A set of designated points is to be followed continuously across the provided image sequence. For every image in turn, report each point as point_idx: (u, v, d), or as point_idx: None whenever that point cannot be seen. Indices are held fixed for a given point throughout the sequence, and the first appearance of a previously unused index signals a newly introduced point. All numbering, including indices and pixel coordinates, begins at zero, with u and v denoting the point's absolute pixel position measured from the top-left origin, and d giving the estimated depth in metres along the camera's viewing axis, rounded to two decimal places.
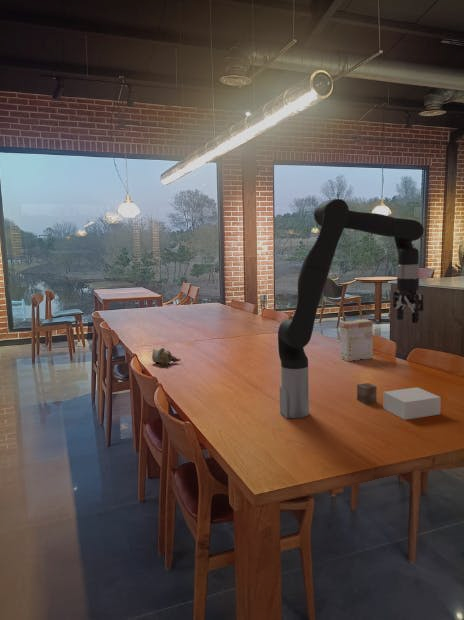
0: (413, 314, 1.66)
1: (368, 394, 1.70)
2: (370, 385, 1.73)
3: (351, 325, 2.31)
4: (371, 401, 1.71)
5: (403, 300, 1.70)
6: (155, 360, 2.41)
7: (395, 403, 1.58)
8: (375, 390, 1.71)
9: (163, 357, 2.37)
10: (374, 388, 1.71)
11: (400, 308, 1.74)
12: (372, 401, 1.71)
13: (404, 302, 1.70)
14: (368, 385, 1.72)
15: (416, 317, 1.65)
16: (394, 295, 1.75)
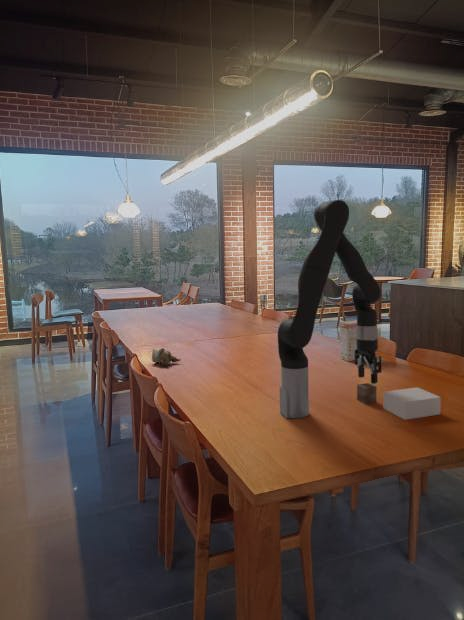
0: (372, 375, 1.67)
1: (368, 394, 1.70)
2: (370, 385, 1.73)
3: (351, 325, 2.31)
4: (371, 401, 1.71)
5: (363, 359, 1.72)
6: (155, 360, 2.40)
7: (395, 403, 1.58)
8: (375, 390, 1.71)
9: (163, 357, 2.36)
10: (374, 388, 1.71)
11: (361, 366, 1.76)
12: (372, 401, 1.71)
13: (364, 362, 1.71)
14: (368, 385, 1.72)
15: (375, 378, 1.67)
16: (355, 353, 1.77)
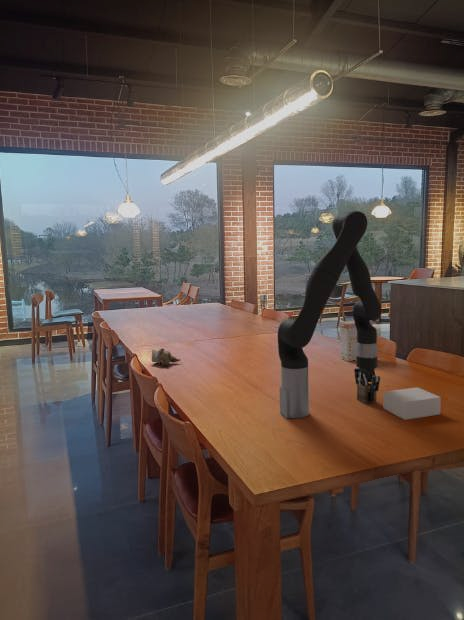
0: (369, 393, 1.70)
1: None
2: (370, 385, 1.73)
3: (351, 325, 2.31)
4: None
5: (363, 376, 1.72)
6: (155, 360, 2.40)
7: (395, 403, 1.58)
8: None
9: (163, 357, 2.36)
10: None
11: None
12: None
13: (363, 379, 1.72)
14: None
15: (372, 396, 1.69)
16: (355, 372, 1.77)
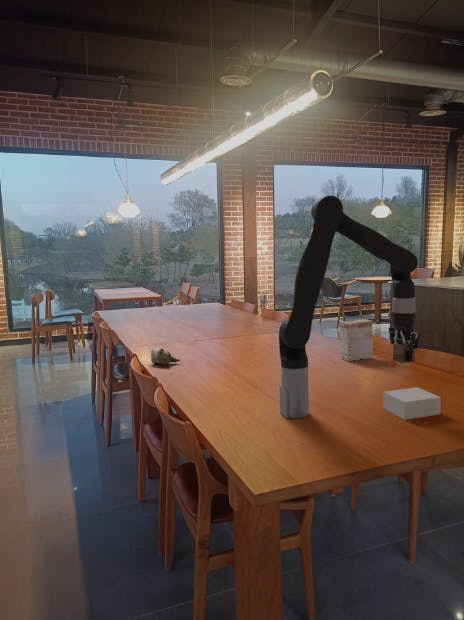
0: (407, 352, 1.58)
1: None
2: None
3: (351, 325, 2.31)
4: None
5: (400, 334, 1.61)
6: (154, 361, 2.39)
7: (395, 403, 1.58)
8: None
9: (163, 358, 2.35)
10: None
11: None
12: None
13: (400, 337, 1.61)
14: None
15: (410, 355, 1.58)
16: (390, 331, 1.66)
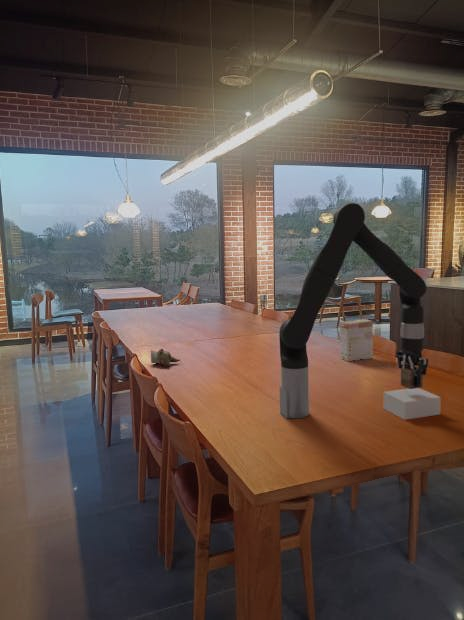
0: (415, 378, 1.56)
1: None
2: None
3: (351, 325, 2.31)
4: None
5: (408, 359, 1.59)
6: (154, 361, 2.38)
7: (395, 403, 1.58)
8: None
9: (163, 358, 2.35)
10: None
11: None
12: None
13: (408, 362, 1.59)
14: None
15: (418, 381, 1.56)
16: (398, 355, 1.64)
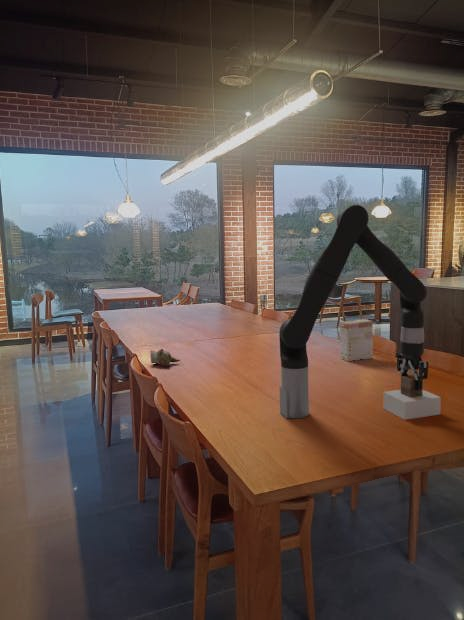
0: (416, 381, 1.56)
1: (414, 387, 1.57)
2: None
3: (351, 325, 2.31)
4: (417, 394, 1.58)
5: (407, 364, 1.59)
6: (154, 361, 2.38)
7: (395, 403, 1.58)
8: None
9: (163, 358, 2.34)
10: None
11: (405, 372, 1.63)
12: (418, 394, 1.58)
13: (408, 366, 1.59)
14: (413, 377, 1.59)
15: (420, 385, 1.55)
16: (397, 358, 1.64)
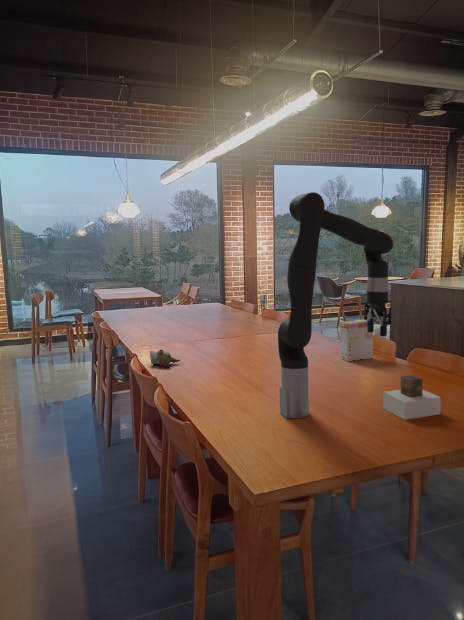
0: (381, 327, 1.65)
1: (414, 387, 1.57)
2: (415, 377, 1.60)
3: (351, 325, 2.31)
4: (417, 394, 1.58)
5: (373, 313, 1.70)
6: (154, 362, 2.37)
7: (395, 403, 1.58)
8: (421, 382, 1.58)
9: (164, 358, 2.34)
10: (420, 380, 1.58)
11: (370, 321, 1.74)
12: (418, 394, 1.58)
13: (373, 315, 1.69)
14: (413, 377, 1.59)
15: (384, 330, 1.65)
16: (365, 307, 1.75)
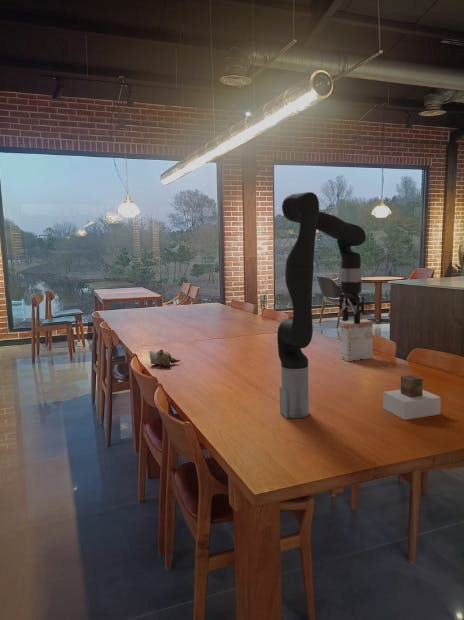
0: (355, 315, 1.75)
1: (414, 387, 1.57)
2: (415, 377, 1.60)
3: (351, 325, 2.31)
4: (417, 394, 1.58)
5: (347, 302, 1.80)
6: (154, 362, 2.36)
7: (395, 403, 1.58)
8: (421, 382, 1.58)
9: (164, 358, 2.33)
10: (420, 380, 1.58)
11: (345, 310, 1.84)
12: (418, 394, 1.58)
13: (348, 304, 1.79)
14: (413, 377, 1.59)
15: (358, 318, 1.75)
16: (340, 297, 1.85)
